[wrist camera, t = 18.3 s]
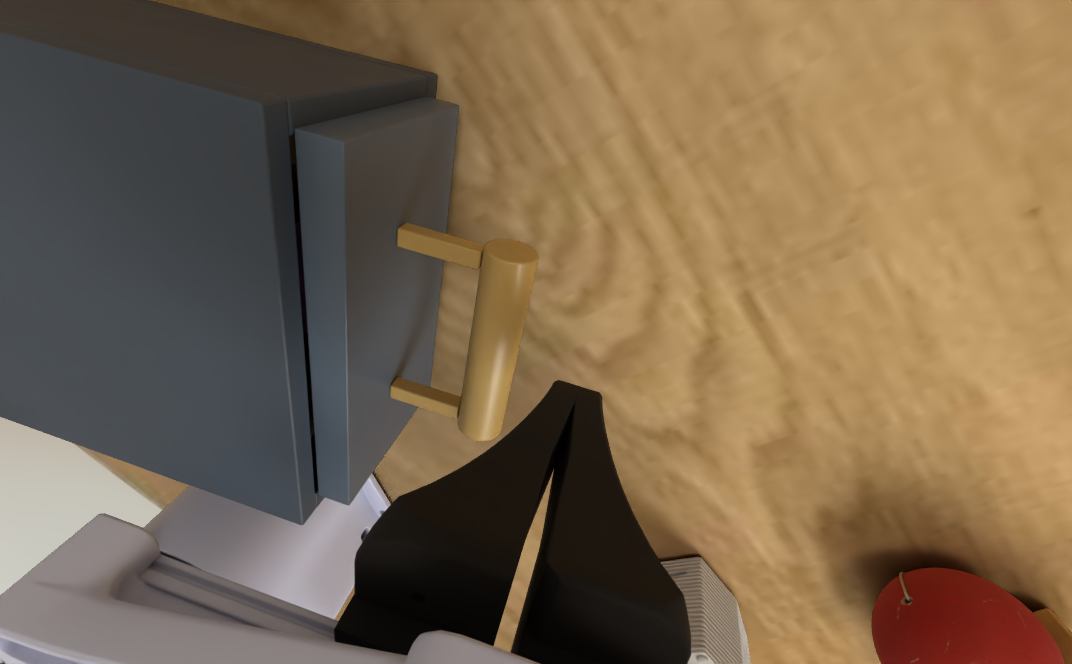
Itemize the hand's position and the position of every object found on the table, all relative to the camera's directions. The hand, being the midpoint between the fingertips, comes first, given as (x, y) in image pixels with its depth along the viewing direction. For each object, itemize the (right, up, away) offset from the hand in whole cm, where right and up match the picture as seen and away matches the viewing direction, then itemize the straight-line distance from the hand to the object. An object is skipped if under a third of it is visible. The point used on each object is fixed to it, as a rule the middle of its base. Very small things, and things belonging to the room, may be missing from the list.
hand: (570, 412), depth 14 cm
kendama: (+21, -13, +10) cm, 27 cm away
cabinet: (-13, +8, +7) cm, 17 cm away
